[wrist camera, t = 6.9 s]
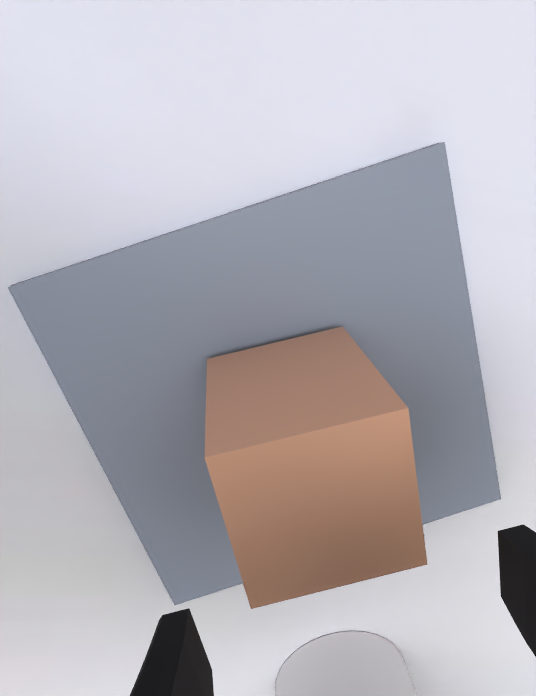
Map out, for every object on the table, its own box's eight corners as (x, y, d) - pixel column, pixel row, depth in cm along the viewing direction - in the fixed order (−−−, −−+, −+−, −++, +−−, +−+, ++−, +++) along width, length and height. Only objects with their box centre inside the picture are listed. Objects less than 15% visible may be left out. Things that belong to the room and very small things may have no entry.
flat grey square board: (175, 598, 23) (161, 766, 17) (12, 285, 18) (-106, 356, 11) (496, 493, 23) (607, 622, 17) (439, 142, 17) (575, 130, 11)
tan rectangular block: (239, 473, 20) (251, 608, 14) (206, 358, 18) (204, 457, 12) (361, 442, 20) (427, 564, 14) (342, 326, 18) (408, 407, 12)
